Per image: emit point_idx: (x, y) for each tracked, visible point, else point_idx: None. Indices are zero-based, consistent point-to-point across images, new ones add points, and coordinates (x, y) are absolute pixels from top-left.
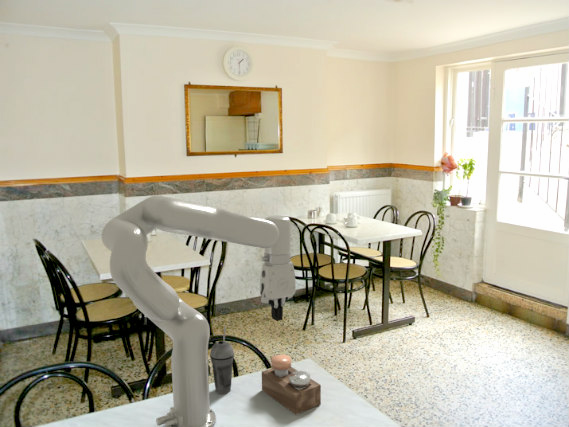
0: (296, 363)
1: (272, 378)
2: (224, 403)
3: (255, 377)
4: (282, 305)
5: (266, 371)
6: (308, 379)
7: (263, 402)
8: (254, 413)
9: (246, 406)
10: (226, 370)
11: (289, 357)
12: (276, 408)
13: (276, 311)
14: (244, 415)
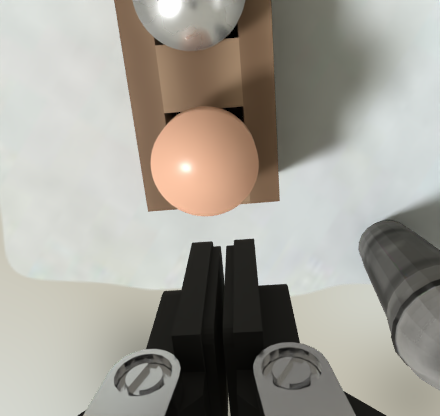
0: (59, 277)
1: (273, 118)
2: (430, 165)
3: None
4: (153, 370)
5: (260, 190)
6: None
7: (313, 94)
8: (384, 40)
9: (380, 103)
10: (432, 255)
11: (156, 158)
12: (295, 25)
13: (262, 325)
14: (422, 49)
